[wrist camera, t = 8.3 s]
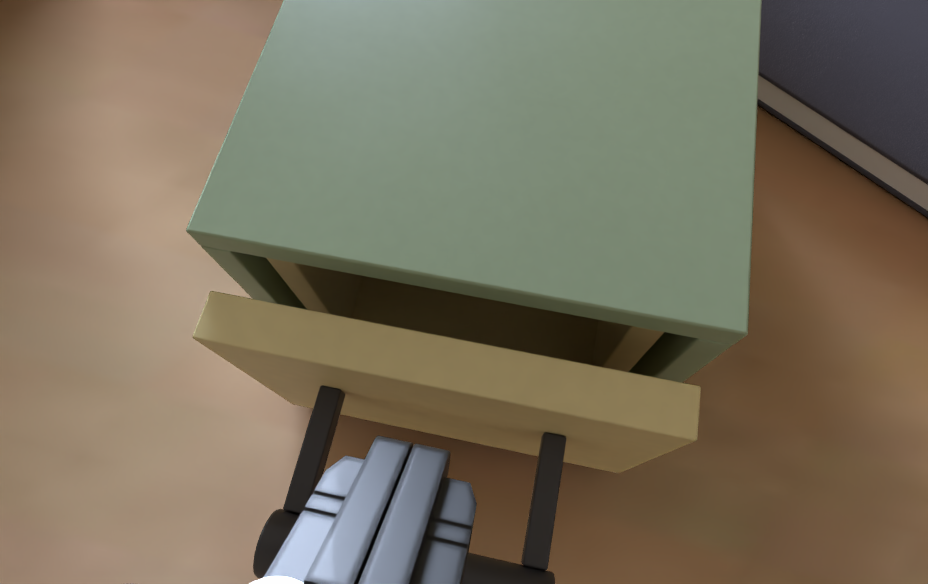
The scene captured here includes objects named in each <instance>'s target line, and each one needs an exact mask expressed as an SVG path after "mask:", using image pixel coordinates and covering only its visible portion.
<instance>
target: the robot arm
mask: <svg viewBox="0 0 928 584" xmlns="http://www.w3.org/2000/svg"><path fill="white" fill-rule="evenodd" d="M449 462H450V451H448V450H443V449H439V448H434V447H429V446H425V445H420V444H414V446H413V443H410V442H406V441H401V440H396V439H392V438H387V437H383V436H377V437H376V438H375V440H374V442H373V444H372V446H371V448H370V450H369V452H368V454H367V456H366V458H365V460H364V459H359V458H355V457H350V456H344V457H343V458H342V459H340V460H339V461H338V462H336V463H335V464H334V465H332V466H331V467H330V468H328V469H327V470H326V471H325V473H324V474H323V476H322V478H321V479H320V481H319V483H318V485H317V486H316V488H315V490H314V493H313V494H312V495H311V497H310V498H309V500H308V502H307V504H306V505H305V508H304V511H302V512H301V514H300V516H299V517H298V519H297V521H296V523H295V524H294V526H293V528H292V529H291V531H290V533H289V535H288V536H287V538H286V540H285V541H284V543H283V545H282V547H281V548H280V550H279V552H278V554H277V555H276V557H275V559H274V560H273V562H272V564H271V566H270V567H269V569H268V571H267V572H266V574H265V575H264V577H263V578H262V579H260V580H257V581H254V582H252V583H250V584H462V581H463V576H464V571H465V566H466V562H467V556H468V550H469V545H470V539H471V534H472V528H473V522H474V517H475V511H476V505H477V503H476V500H475V497H474V494H473V490H472V487H471V484H470V483H468V482H464V481H459V480H455V479H450V478H447V475H448V468H449Z"/></svg>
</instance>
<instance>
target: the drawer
mask: <svg viewBox="0 0 928 584" xmlns="http://www.w3.org/2000/svg"><path fill="white" fill-rule="evenodd" d="M267 259H268V261H269V262H270V263H271V264H272V266H273V267H274V268H275V270H276V271H277V272H278V273H279V275H280V276H281V277H282V278H283V280H284V281H285V282H286V283H287V285H288V286H289V287H290V288H291V290H292V291H293V292H294V293H295V295H296V296H297V297H298V298H299V300H300V301H301V302H302V303H303V305H304V306H305V307H306V309H301V308H296V307H291V306H286V305H281V304H276V303H271V302H266V301H260V300H255V299H250V298H245V297H240V296H235V295H230V294H224V293H219V292H214V291H211V292H210V293H209V296H208V298H207V301H206V303H205V306H204V308H203V311H202V314H201V316H200V319H199V321H198V324H197V326H196V329H195V331H194V334H193V338H194V339H195V340H197V341H198V342H200V343H201V344H203V345H204V346H206V347H207V348H209V349H210V350H212V351H213V352H215V353H216V354H218V355H219V356H221V357H222V358H224V359H225V360H227V361H228V362H230V363H231V364H233V365H234V366H236V367H237V368H239V369H240V370H242V371H243V372H245V373H246V374H248V375H249V376H251V377H252V378H254V379H255V380H257V381H258V382H260V383H262V384H263V385H265V386H266V387H268V388H269V389H271V390H272V391H274V392H275V393H277V394H278V395H280V396H281V397H283V398H284V399H286V400H287V401H289V402H290V403H292V404H294V405H299V406H303V407H308V408H313V411H312V415H311V418H310V421H309V425H308V428H307V431H306V435H305V438H304V441H303V444H302V448H301V451H300V454H299V458H298V461H297V464H296V468H295V471H294V474H293V477H292V481H291V484H290V487H289V491H288V494H287V497H286V501H285V504H284V507H283V509H284V510H283V509H278V510H276V511H274V512H273V513H272V515H271V516H270V517H269V519H268V520H267V522H266V524H265V526H264V528H263V530H262V532H261V535H260V537H259V540H258V543H257V547H256V551H255V555H254V564H253V569H254V574H255V575H256V576H257V577H258V578H261V579H262V578H263V577H264V575H265V574H266V572H267V571H268V569H269V567H270V566H271V564H272V562H273V560H274V559H275V557H276V555H277V554H278V552H279V550H280V548H281V547H282V545H283V543H284V541H285V540H286V538H287V536H288V535H289V533H290V531H291V529H292V528H293V526H294V524H295V523H296V521H297V519H298V517H299V516H300V514H301V512H302V511H304V508H305V505H306V504H307V502H308V500H309V498H310V497H311V495H312V494H313V493H314V490H315V488H316V486H317V485H318V483H319V481H320V479H321V478H322V475H323V472H324V468H325V465H326V461H327V458H328V454H329V451H330V447H331V444H332V440H333V437H334V433H335V430H336V426H337V423H338V419H339V416H340V414H341V415H346V416H350V417H355V418H360V419H364V420H369V421H374V422H379V423H383V424H388V425H393V426H397V427H402V428H407V429H412V430H416V431H421V432H426V433H430V434H435V435H440V436H444V437H449V438H454V439H459V440H463V441H468V442H473V443H477V444H482V445H487V446H492V447H496V448H501V449H506V450H510V451H515V452H520V453H524V454H529V455H534V456H538V462H537V468H536V474H535V480H534V486H533V493H532V499H531V505H530V511H529V517H528V523H527V530H526V536H525V542H524V548H523V554H522V561H521V562H522V564H523V565H520V564H515V563H511V562H507V561H502V560H498V559H494V558H489V557H485V556H481V555H477V554H472V553H468V556H467V562H466V566H465V571H464V576H463V581H462V584H555V577H554V574H553V573H552V572H550V571H545V570H547V568H548V562H549V555H550V548H551V541H552V534H553V528H554V521H555V514H556V507H557V500H558V494H559V487H560V480H561V473H562V466H563V462H567V463H571V464H576V465H581V466H586V467H590V468H595V469H600V470H604V471H609V472H614V473H621V472H623V471H625V470H628V469H630V468H633V467H635V466H637V465H640V464H642V463H644V462H647V461H649V460H652V459H654V458H656V457H659V456H661V455H663V454H666V453H668V452H671V451H673V450H675V449H678V448H680V447H682V446H685V445H687V444H690V443H692V442H694V441H696V440H697V435H698V421H699V406H700V392H701V388H700V386H697V385H692V384H686V383H681V382H676V381H671V380H666V379H661V378H656V377H651V376H645V375H640V374H635V373H630V372H629V370H630V369H631V368H632V367H633V366H634V365H635V364H636V363H637V362H638V361H639V360H640V358H641V357H642V356H643V355H644V354H645V353H646V352H647V351H648V350H649V349H650V348H651V346H652V345H653V344H654V343H655V342H656V341H657V340H658V339H659V338H660V337H661V336H662V334H663V333H664V332H661V331H656V330H651V329H645V328H640V327H635V326H629V325H624V324H619V323H613V322H608V321H603V320H597V319H592V318H587V317H581V316H576V315H570V314H565V313H560V312H554V311H549V310H544V309H538V308H533V307H528V306H522V305H517V304H512V303H506V302H501V301H496V300H490V299H485V298H479V297H474V296H469V295H463V294H458V293H453V292H447V291H442V290H437V289H431V288H426V287H421V286H415V285H410V284H404V283H399V282H394V281H388V280H383V279H378V278H372V277H367V276H362V275H356V274H351V273H346V272H340V271H335V270H330V269H324V268H319V267H313V266H308V265H303V264H297V263H292V262H287V261H281V260H276V259H271V258H267Z"/></svg>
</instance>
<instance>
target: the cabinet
mask: <svg viewBox="0 0 928 584" xmlns="http://www.w3.org/2000/svg"><path fill="white" fill-rule="evenodd" d="M761 4H762V0H284V1H283V4H282V6H281V8H280V11H279V13H278V15H277V18H276V20H275V22H274V25H273V27H272V29H271V32H270V34H269V37H268V39H267V41H266V44H265V46H264V48H263V51H262V53H261V55H260V58H259V60H258V62H257V65H256V67H255V69H254V72H253V74H252V76H251V79H250V81H249V83H248V86H247V88H246V91H245V93H244V95H243V98H242V100H241V102H240V105H239V107H238V109H237V112H236V114H235V116H234V119H233V121H232V123H231V126H230V128H229V130H228V133H227V135H226V137H225V140H224V142H223V145H222V147H221V149H220V152H219V154H218V156H217V159H216V161H215V163H214V166H213V168H212V170H211V173H210V175H209V177H208V180H207V182H206V184H205V187H204V189H203V191H202V194H201V196H200V199H199V201H198V203H197V206H196V208H195V210H194V213H193V215H192V217H191V220H190V222H189V224H188V227H187V230H186V231H187V232H188V233H189V234H190V235H191V236H192V237H193V238H194V239H195V240H196V241H197V242H198V243H199V244H200V245H201V247H202V248H203V249H204V250H205V251H206V252H207V253H208V254H209V255H210V256H211V257H212V258H213V259H214V260H215V261H216V262H217V263H218V264H219V265H220V266H221V267H222V268H223V269H224V270H225V271H226V272H227V273H228V274H229V275H230V276H231V277H232V278H233V279H234V280H235V281H236V282H237V283H238V284H239V285H240V286H241V287H242V288H243V289H244V290H245V291H246V292H247V293H248V294H249V295H250V296H251V297H252V298H253V299H255V300H260V301H266V302H271V303H276V304H281V305H286V306H291V307H296V308H301V309H306V307H305V306H304V305H303V303H302V302H301V301H300V300H299V298H298V297H297V296H296V295H295V293H294V292H293V291H292V290H291V288H290V287H289V286H288V285H287V283H286V282H285V281H284V280H283V278H282V277H281V276H280V275H279V273H278V272H277V271H276V270H275V268H274V267H273V266H272V264H271V263H270V262H269V261H268V259H267V258H271V259H276V260H281V261H287V262H292V263H297V264H303V265H308V266H313V267H319V268H324V269H330V270H335V271H340V272H346V273H351V274H356V275H362V276H367V277H372V278H378V279H383V280H388V281H394V282H399V283H404V284H410V285H415V286H421V287H426V288H431V289H437V290H442V291H447V292H453V293H458V294H463V295H469V296H474V297H479V298H485V299H490V300H496V301H501V302H506V303H512V304H517V305H522V306H528V307H533V308H538V309H544V310H549V311H554V312H560V313H565V314H570V315H576V316H581V317H587V318H592V319H597V320H603V321H608V322H613V323H619V324H624V325H629V326H635V327H640V328H645V329H651V330H656V331H661V332H664V333H663V334H662V336H661V337H660V338H659V339H658V340H657V341H656V342H655V343H654V344H653V345H652V346H651V348H650V349H649V350H648V351H647V352H646V353H645V354H644V355H643V356H642V357H641V358H640V360H639V361H638V362H637V363H636V364H635V365H634V366H633V367H632V368H631V369H630V370H629V372H630V373H635V374H640V375H645V376H651V377H656V378H661V379H666V380H671V381H676V382H681V383H682V382H684V381H685V380H686V379H688V378H689V377H690V376H692V375H693V374H694V373H696V372H697V371H698V370H700V369H701V368H703V367H704V366H705V365H707V364H708V363H709V362H711V361H712V360H713V359H715V358H716V357H717V356H719V355H720V354H721V353H723V352H724V351H725V350H727V349H728V348H729V347H731V346H732V345H733V344H735V343H737V342H738V341H739V340H741V339H742V338H744V337H745V336H746V335H747V334H748V318H749V294H750V270H751V246H752V221H753V197H754V173H755V149H756V125H757V101H758V76H759V52H760V28H761Z"/></svg>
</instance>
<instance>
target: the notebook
mask: <svg viewBox="0 0 928 584" xmlns="http://www.w3.org/2000/svg"><path fill="white" fill-rule="evenodd" d="M757 104H758V105H759V106H761V107H762V108H764V109H765V110H767V111H768V112H770V113H771V114H773V115H774V116H776V117H777V118H779V119H780V120H782V121H783V122H785V123H786V124H788V125H789V126H791V127H792V128H794V129H795V130H797V131H798V132H800V133H801V134H803V135H804V136H806V137H807V138H809V139H810V140H812V141H813V142H815V143H816V144H818V145H819V146H821V147H822V148H824V149H825V150H827V151H828V152H830V153H831V154H833V155H834V156H836V157H837V158H839V159H840V160H842V161H843V162H845V163H846V164H848V165H849V166H851V167H852V168H854V169H855V170H857V171H858V172H860V173H861V174H863V175H864V176H866V177H867V178H869V179H871V180H872V181H874V182H875V183H877V184H878V185H880V186H881V187H883V188H884V189H886V190H887V191H889V192H890V193H892V194H893V195H895V196H896V197H898V198H899V199H901V200H902V201H904V202H905V203H907V204H908V205H910V206H911V207H913V208H914V209H916V210H917V211H919V212H920V213H922V214H923V215H925V216H926V217H928V0H762V4H761V28H760V52H759V76H758V101H757Z"/></svg>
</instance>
